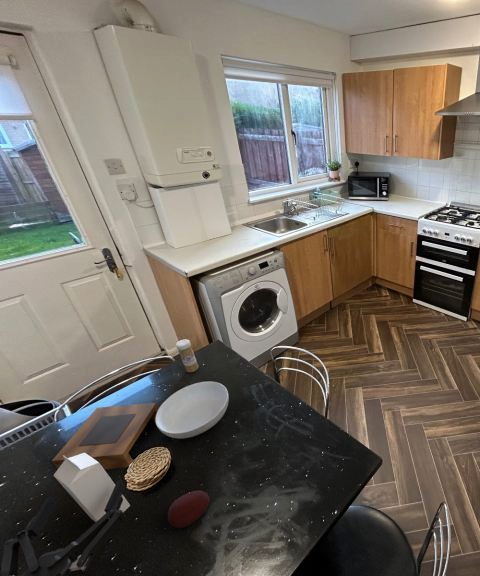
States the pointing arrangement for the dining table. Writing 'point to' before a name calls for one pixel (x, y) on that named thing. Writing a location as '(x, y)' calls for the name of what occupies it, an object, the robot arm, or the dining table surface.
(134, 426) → the wooden serving tray
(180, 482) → the dining table surface
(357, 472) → the dining table surface
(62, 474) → the milk
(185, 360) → the sprinkles bottle
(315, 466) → the dining table surface
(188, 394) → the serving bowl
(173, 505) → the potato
